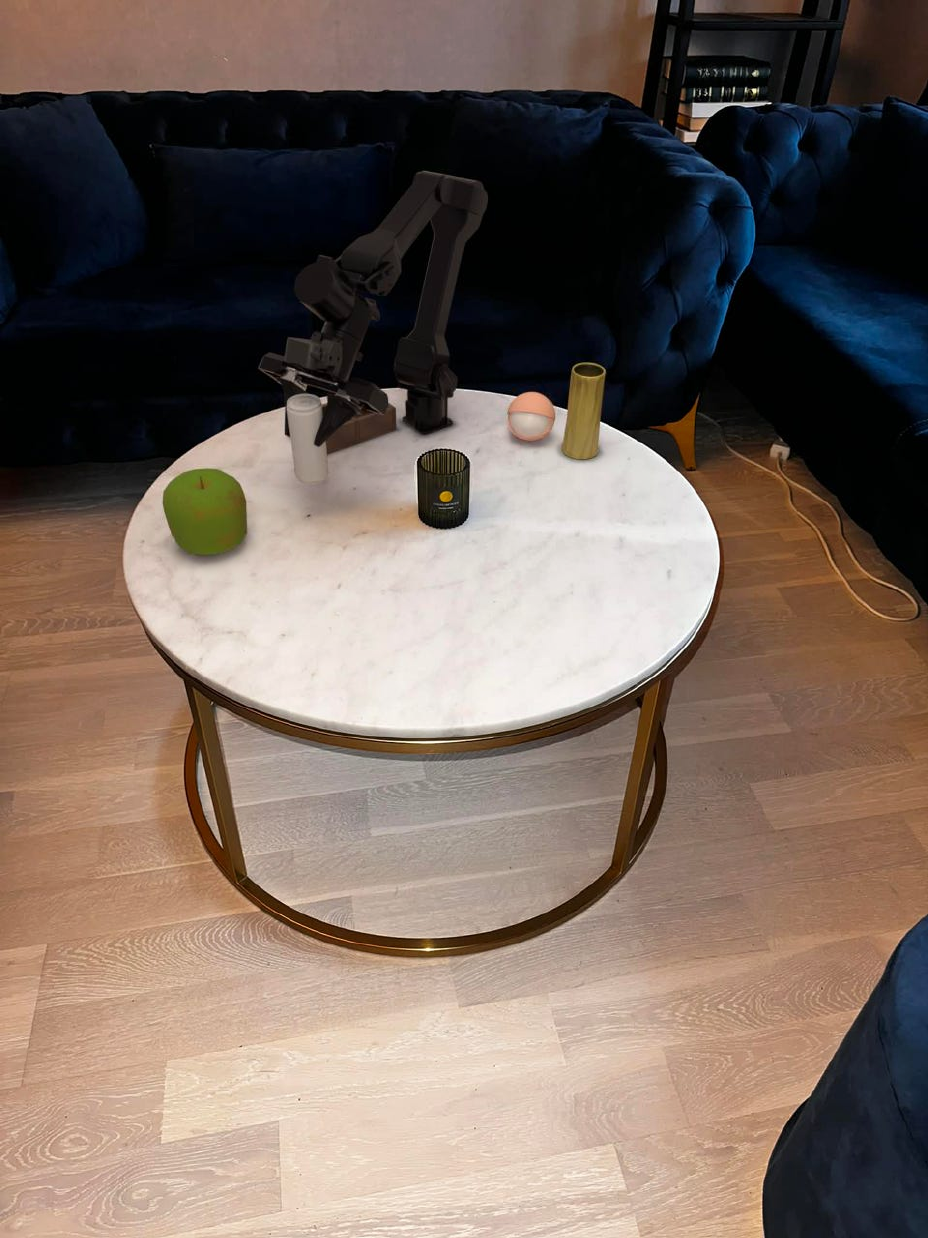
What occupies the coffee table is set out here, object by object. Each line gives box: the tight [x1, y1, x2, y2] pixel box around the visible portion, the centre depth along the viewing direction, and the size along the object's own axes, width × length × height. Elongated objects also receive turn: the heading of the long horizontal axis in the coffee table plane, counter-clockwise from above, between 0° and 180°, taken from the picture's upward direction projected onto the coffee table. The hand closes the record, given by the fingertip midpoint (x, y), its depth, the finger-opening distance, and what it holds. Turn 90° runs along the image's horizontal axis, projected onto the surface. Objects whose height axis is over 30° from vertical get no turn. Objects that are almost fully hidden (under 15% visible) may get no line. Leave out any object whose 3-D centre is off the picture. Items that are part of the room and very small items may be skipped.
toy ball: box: [506, 391, 556, 442], centre depth 155 cm, size 8×8×8 cm
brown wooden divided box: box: [321, 402, 397, 455], centre depth 156 cm, size 15×8×4 cm, turn 127°
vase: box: [560, 362, 607, 460], centre depth 150 cm, size 6×6×14 cm
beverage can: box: [287, 393, 329, 485], centre depth 132 cm, size 5×5×12 cm
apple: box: [161, 467, 248, 556], centre depth 130 cm, size 11×11×11 cm
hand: (301, 440), depth 131 cm, fingers closed on beverage can, 5 cm apart
